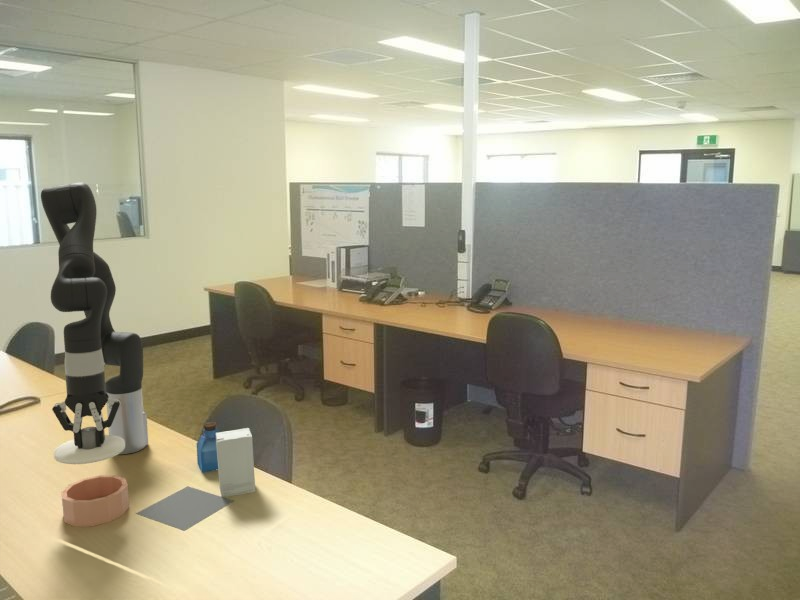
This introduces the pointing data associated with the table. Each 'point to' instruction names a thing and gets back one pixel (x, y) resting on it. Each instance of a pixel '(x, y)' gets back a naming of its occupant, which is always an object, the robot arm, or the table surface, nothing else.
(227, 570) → the table surface
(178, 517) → the mat
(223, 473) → the skincare box
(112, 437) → the lid
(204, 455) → the perfume bottle
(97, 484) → the bowl
